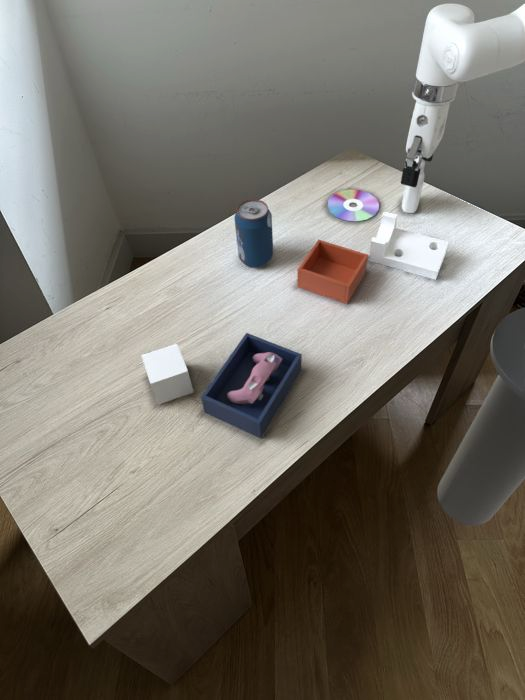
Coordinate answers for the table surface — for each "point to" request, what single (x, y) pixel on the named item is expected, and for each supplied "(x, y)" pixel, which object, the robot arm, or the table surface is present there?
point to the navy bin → (237, 374)
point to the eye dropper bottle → (413, 192)
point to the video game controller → (256, 379)
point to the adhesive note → (167, 373)
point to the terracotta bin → (332, 271)
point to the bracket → (407, 249)
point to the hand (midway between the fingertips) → (416, 172)
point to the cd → (363, 211)
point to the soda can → (254, 233)
